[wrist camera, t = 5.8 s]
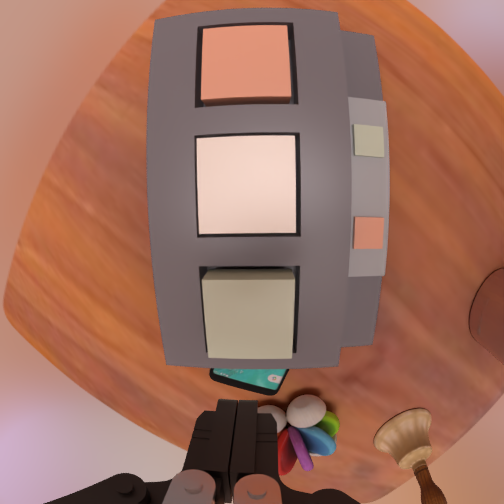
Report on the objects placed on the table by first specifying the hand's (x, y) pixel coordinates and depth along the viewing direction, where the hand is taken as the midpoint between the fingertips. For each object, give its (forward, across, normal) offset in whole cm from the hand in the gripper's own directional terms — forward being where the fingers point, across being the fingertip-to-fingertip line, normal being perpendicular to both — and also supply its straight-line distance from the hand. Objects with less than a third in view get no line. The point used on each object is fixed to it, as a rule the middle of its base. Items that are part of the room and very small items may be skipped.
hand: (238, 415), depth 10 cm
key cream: (+12, 0, -9) cm, 15 cm away
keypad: (+15, -2, -9) cm, 17 cm away
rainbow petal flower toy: (+15, -4, +16) cm, 22 cm away
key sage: (+12, 0, 0) cm, 12 cm away
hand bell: (+15, -19, +20) cm, 32 cm away
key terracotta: (+13, 0, -18) cm, 22 cm away
